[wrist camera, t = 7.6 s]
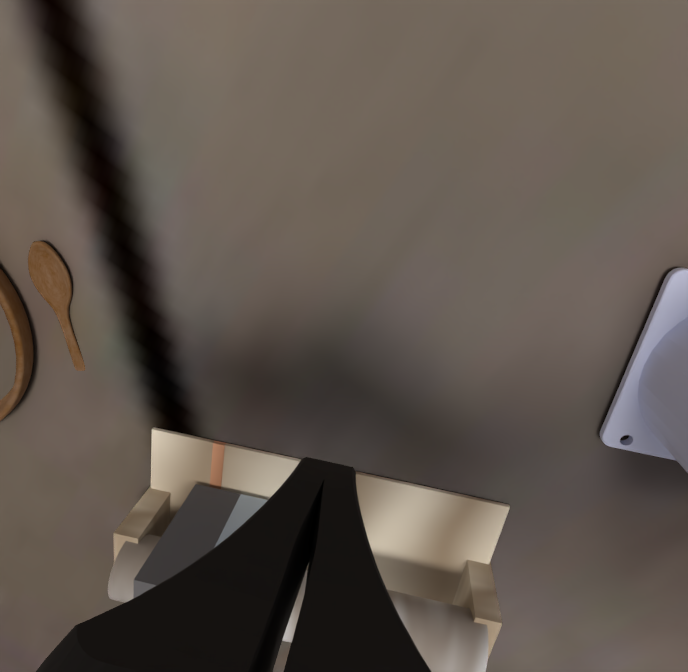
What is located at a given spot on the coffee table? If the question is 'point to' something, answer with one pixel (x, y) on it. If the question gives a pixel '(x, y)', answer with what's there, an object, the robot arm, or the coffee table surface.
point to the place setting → (55, 290)
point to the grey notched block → (187, 535)
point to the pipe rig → (382, 531)
